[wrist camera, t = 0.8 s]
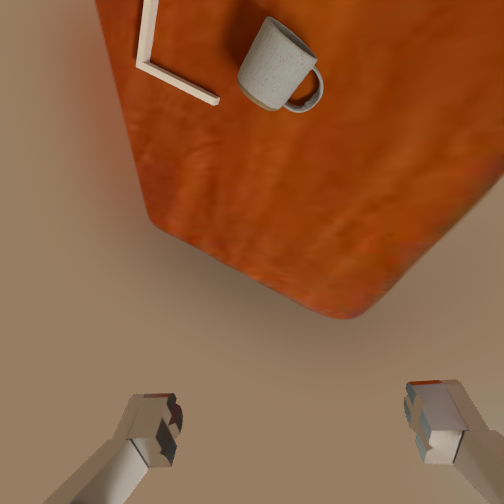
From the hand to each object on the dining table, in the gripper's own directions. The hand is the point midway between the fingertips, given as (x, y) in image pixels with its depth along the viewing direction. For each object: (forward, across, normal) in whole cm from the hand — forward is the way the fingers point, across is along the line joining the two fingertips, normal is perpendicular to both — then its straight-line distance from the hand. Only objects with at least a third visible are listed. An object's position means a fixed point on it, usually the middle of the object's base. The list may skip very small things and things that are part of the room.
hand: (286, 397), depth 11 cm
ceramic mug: (+42, -3, -10) cm, 43 cm away
